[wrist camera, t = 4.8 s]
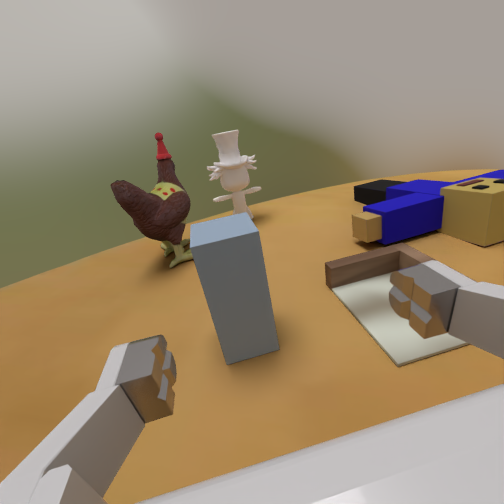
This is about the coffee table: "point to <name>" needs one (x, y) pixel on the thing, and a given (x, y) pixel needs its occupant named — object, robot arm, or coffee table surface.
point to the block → (235, 285)
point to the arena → (384, 301)
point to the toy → (432, 209)
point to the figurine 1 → (159, 207)
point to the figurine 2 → (232, 171)
